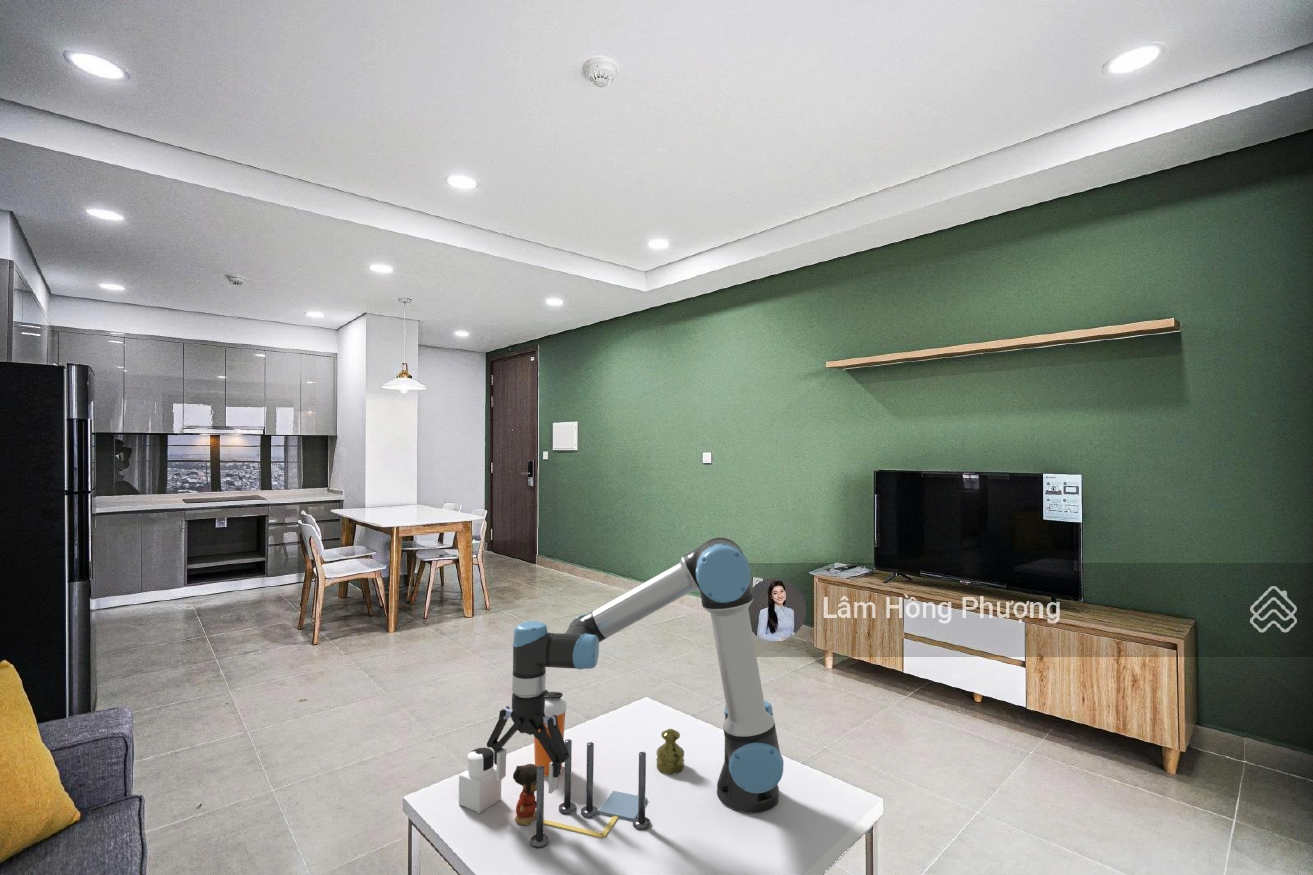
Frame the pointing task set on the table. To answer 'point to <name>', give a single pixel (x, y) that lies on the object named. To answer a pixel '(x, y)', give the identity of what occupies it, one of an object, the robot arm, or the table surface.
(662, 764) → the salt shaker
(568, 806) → the gate
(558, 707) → the shaker bottle
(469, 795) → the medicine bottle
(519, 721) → the robot arm
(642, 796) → the gate
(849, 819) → the table surface
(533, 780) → the figurine
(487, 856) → the table surface
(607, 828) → the guide line
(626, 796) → the pad
